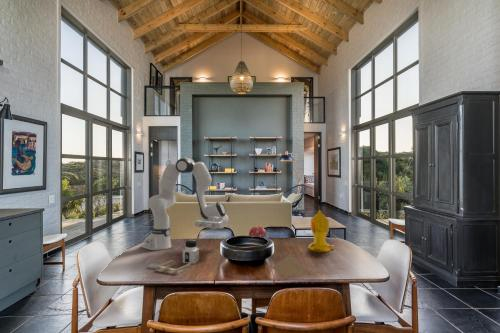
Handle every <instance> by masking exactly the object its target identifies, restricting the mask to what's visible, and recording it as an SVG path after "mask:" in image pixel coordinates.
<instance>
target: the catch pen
mask: <svg viewBox="0 0 500 333" xmlns="http://www.w3.org/2000/svg"><path fill="white" fill-rule="evenodd" d="M160 264H161V263H160ZM174 264H175V263H174V259H171V260H169V261H167V262H164V263H162V264H161V265H159V266H157V269H156V271H157V272H161V273H166V274H170V275H179V274H181V273H183V272H185V271H188V270H189V269H191V268H192V264H191V263H186V264H185V265H182V266H180V267H179V268H172V267H171V266H173V265H174Z"/></svg>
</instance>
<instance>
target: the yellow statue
mask: <svg viewBox="0 0 500 333" xmlns="http://www.w3.org/2000/svg"><path fill="white" fill-rule="evenodd" d="M310 230H311V232H312V234H313V238H314V239H313V242H311V243H310V244H308V250H310V251H312V252H318V253H326V252H330V251H332V250H334V245H332V246H331V245H330V244H329V243H327V242H326V237H327V235H328V233H329V231H330V219H329V218H328V217H327V216H325V214H324V213H323V212H322V210H320V209H319V210H318V211H317V213H316V214H314V216H312V217H311V219H310Z"/></svg>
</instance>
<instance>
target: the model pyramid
mask: <svg viewBox="0 0 500 333" xmlns="http://www.w3.org/2000/svg"><path fill="white" fill-rule="evenodd" d="M271 269H273V270H274V271H275V272H277V273H278V274H279V275H281V276H282V277H284V278H287V277H288V278H289V277H294V276H295V277H296V276H302V275H309V274H311V273H310V271H309V270H308V269H306V268H305V266H304V265H303V264H302V263H301V262H299V260H298V259H297V258H296V257H294V256H293V254H292V253H290V254H288V255H287V256H285V257H284V258H283V259H281V260H280V261H279V262H277V263H276V264H275V265H273V266H271Z"/></svg>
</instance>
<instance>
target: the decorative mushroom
mask: <svg viewBox="0 0 500 333" xmlns="http://www.w3.org/2000/svg"><path fill="white" fill-rule="evenodd" d="M250 236H255V237H263V238H265V237H267V231H266V229H265V228H264V227H263V226H261V225H255V226H253V227H252V228H250V229H249V231H248V237H250Z"/></svg>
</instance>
